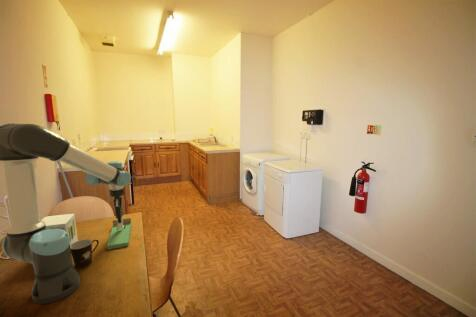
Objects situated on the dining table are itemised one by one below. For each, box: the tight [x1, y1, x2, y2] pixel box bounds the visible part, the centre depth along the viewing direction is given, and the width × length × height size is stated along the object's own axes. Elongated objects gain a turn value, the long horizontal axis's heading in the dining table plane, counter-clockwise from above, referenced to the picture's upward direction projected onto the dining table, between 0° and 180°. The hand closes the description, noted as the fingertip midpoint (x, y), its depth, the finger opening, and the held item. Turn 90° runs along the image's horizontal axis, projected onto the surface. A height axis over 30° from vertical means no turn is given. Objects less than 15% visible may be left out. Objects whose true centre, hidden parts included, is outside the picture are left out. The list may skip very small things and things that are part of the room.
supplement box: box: [40, 213, 79, 245], centre depth 117 cm, size 13×13×18 cm
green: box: [106, 217, 132, 250], centre depth 134 cm, size 26×10×5 cm, turn 21°
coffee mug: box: [70, 238, 99, 269], centre depth 109 cm, size 12×9×10 cm
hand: (120, 227), depth 138 cm, fingers closed
